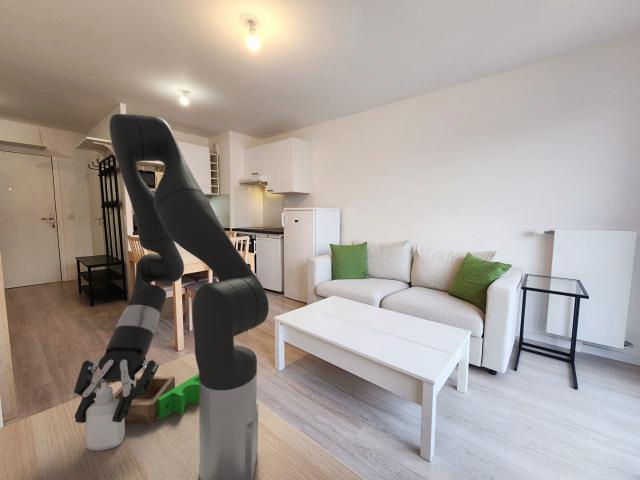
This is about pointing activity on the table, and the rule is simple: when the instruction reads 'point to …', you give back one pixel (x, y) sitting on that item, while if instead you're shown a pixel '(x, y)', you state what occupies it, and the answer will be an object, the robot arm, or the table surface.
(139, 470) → the table surface
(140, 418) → the box
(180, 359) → the table surface
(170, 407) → the pipe clamp
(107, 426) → the eye dropper bottle
